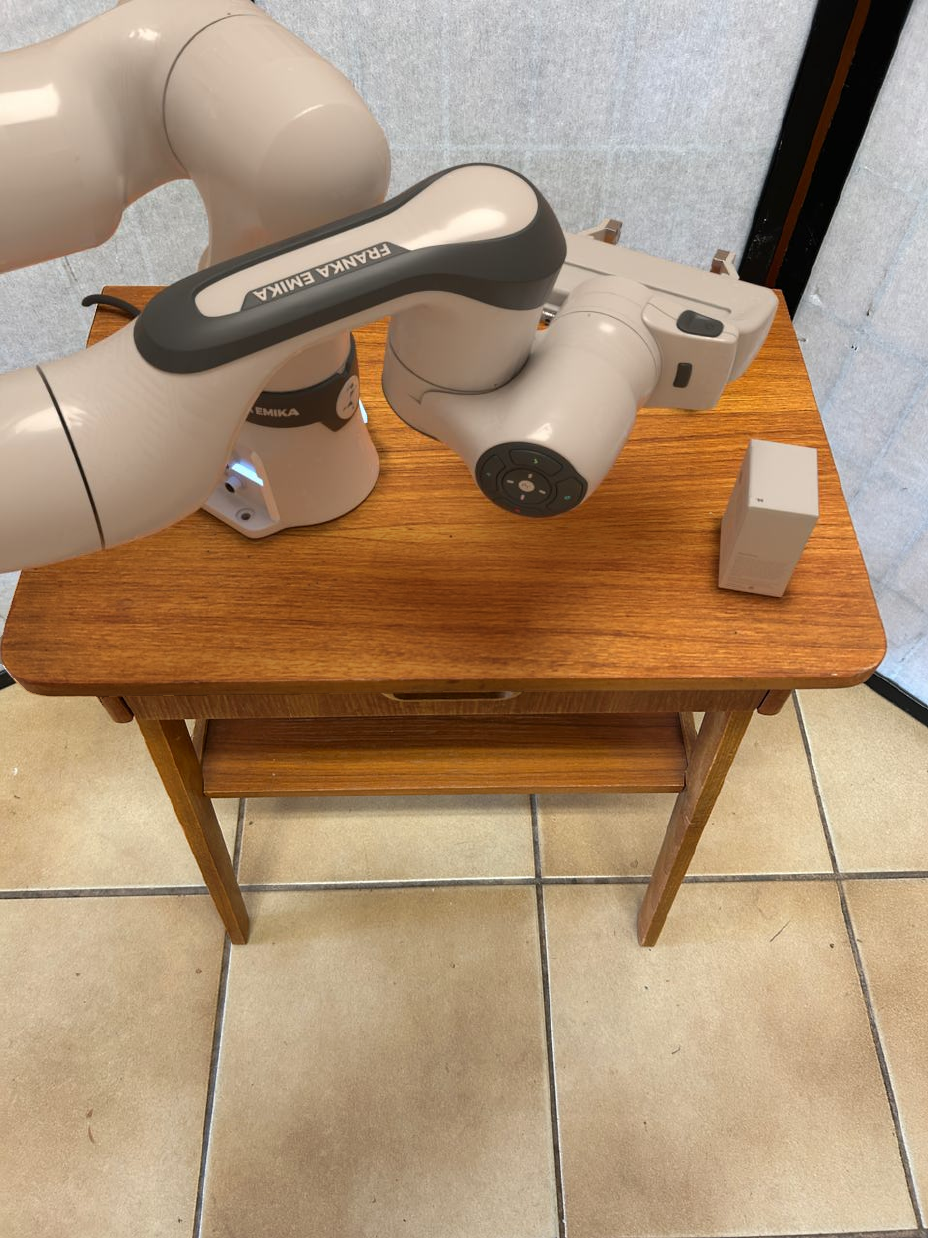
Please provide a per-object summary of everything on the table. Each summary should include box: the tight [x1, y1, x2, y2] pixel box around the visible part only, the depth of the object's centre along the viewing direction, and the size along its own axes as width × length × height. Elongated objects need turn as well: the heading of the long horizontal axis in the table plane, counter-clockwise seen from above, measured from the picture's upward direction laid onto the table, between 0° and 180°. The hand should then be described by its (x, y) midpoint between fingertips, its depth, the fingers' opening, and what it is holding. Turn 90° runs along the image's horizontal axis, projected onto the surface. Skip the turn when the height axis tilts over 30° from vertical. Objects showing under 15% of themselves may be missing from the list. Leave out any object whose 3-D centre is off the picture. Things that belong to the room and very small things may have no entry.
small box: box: [717, 438, 820, 598], centre depth 80 cm, size 8×6×10 cm
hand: (668, 242), depth 76 cm, fingers open, 8 cm apart
